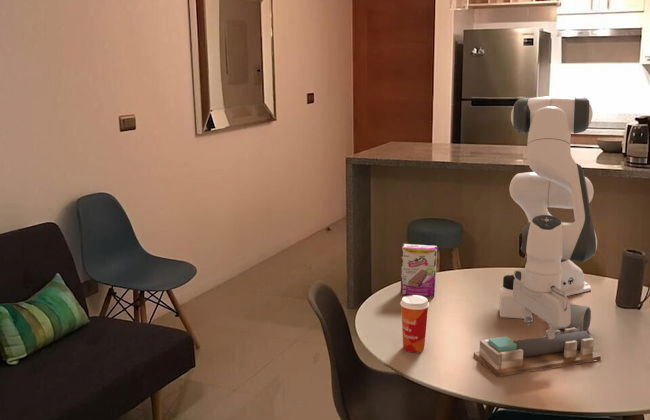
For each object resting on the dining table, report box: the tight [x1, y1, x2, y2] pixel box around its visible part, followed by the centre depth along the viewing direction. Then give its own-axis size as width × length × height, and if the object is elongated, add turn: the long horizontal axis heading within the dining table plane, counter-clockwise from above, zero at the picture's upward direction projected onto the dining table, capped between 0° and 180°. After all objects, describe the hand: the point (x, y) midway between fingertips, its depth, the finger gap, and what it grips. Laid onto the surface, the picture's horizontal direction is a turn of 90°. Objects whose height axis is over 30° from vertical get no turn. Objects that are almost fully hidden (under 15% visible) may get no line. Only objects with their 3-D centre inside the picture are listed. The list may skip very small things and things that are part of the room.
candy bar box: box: [400, 243, 438, 298], centre depth 219 cm, size 11×5×16 cm, turn 78°
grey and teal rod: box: [488, 331, 591, 358], centre depth 174 cm, size 28×5×5 cm, turn 107°
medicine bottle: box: [498, 273, 525, 320], centre depth 202 cm, size 7×7×12 cm
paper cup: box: [399, 295, 430, 354], centre depth 179 cm, size 8×8×14 cm
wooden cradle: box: [473, 327, 602, 377], centre depth 174 cm, size 30×12×5 cm, turn 107°
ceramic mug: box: [557, 303, 592, 334], centre depth 190 cm, size 11×8×8 cm
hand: (539, 330), depth 174 cm, fingers open, 8 cm apart
